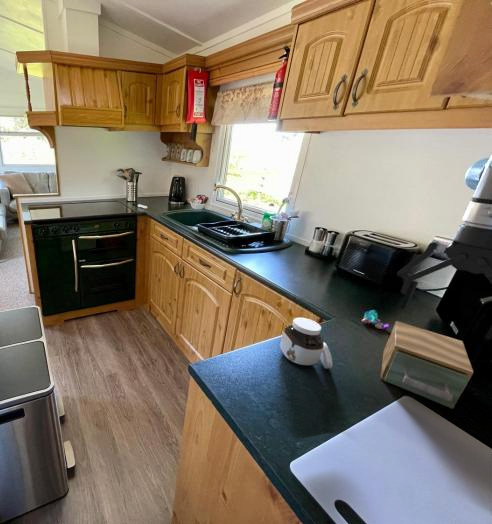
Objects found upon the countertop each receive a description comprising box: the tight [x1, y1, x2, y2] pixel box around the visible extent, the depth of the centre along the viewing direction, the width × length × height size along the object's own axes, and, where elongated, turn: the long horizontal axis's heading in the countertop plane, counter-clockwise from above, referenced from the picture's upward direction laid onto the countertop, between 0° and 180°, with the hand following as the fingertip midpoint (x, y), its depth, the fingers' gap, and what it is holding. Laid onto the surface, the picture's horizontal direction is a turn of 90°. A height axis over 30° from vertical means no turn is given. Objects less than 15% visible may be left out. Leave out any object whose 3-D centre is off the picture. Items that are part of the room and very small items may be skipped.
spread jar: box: [279, 317, 334, 370], centre depth 80 cm, size 12×11×12 cm
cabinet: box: [380, 320, 474, 409], centre depth 77 cm, size 17×14×11 cm
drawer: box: [383, 350, 469, 409], centre depth 73 cm, size 22×13×9 cm, turn 139°
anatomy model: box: [361, 309, 390, 330], centre depth 103 cm, size 5×8×7 cm
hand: (442, 321), depth 63 cm, fingers open, 13 cm apart
